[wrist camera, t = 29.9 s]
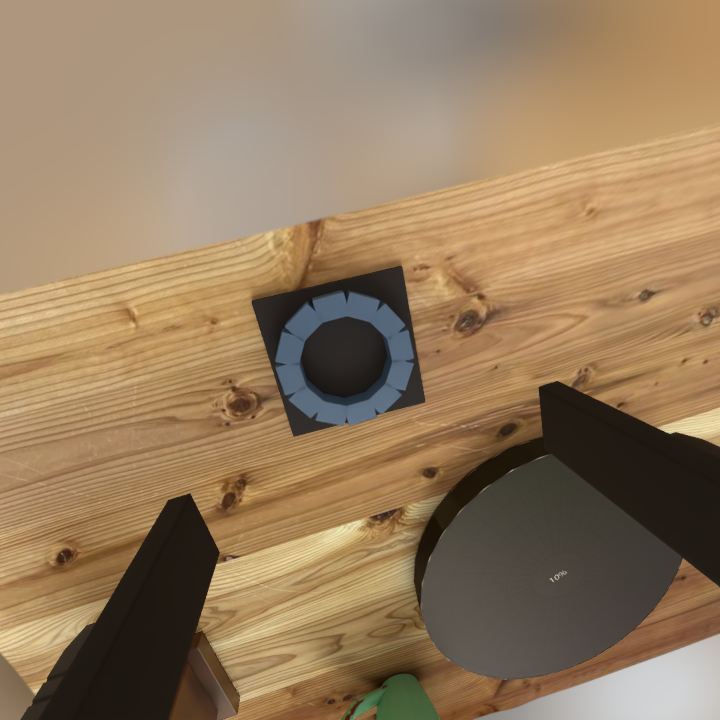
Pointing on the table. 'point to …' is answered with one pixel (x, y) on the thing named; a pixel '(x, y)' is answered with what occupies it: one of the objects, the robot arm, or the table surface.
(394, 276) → the mat
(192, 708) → the stand
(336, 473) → the table surface
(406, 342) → the ring
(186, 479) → the table surface
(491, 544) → the disc
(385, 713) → the mug
